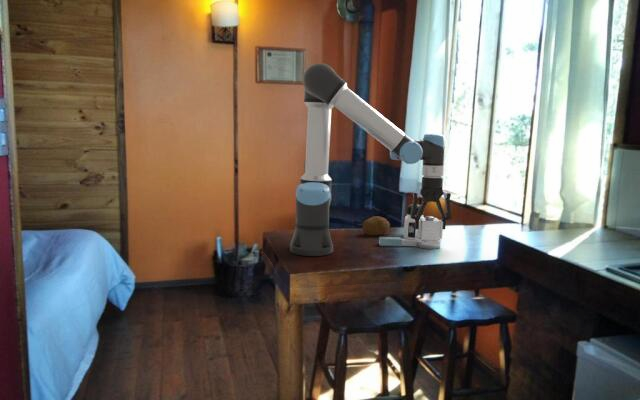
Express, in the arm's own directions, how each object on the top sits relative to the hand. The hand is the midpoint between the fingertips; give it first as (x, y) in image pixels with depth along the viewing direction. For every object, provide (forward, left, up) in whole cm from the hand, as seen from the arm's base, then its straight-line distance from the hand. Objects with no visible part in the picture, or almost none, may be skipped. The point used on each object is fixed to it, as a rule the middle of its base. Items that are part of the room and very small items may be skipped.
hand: (429, 237), depth 192 cm
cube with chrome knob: (0, 0, 0) cm, 1 cm away
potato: (-18, +16, -4) cm, 25 cm away
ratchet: (-7, 0, -3) cm, 8 cm away
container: (-3, +14, -3) cm, 15 cm away
